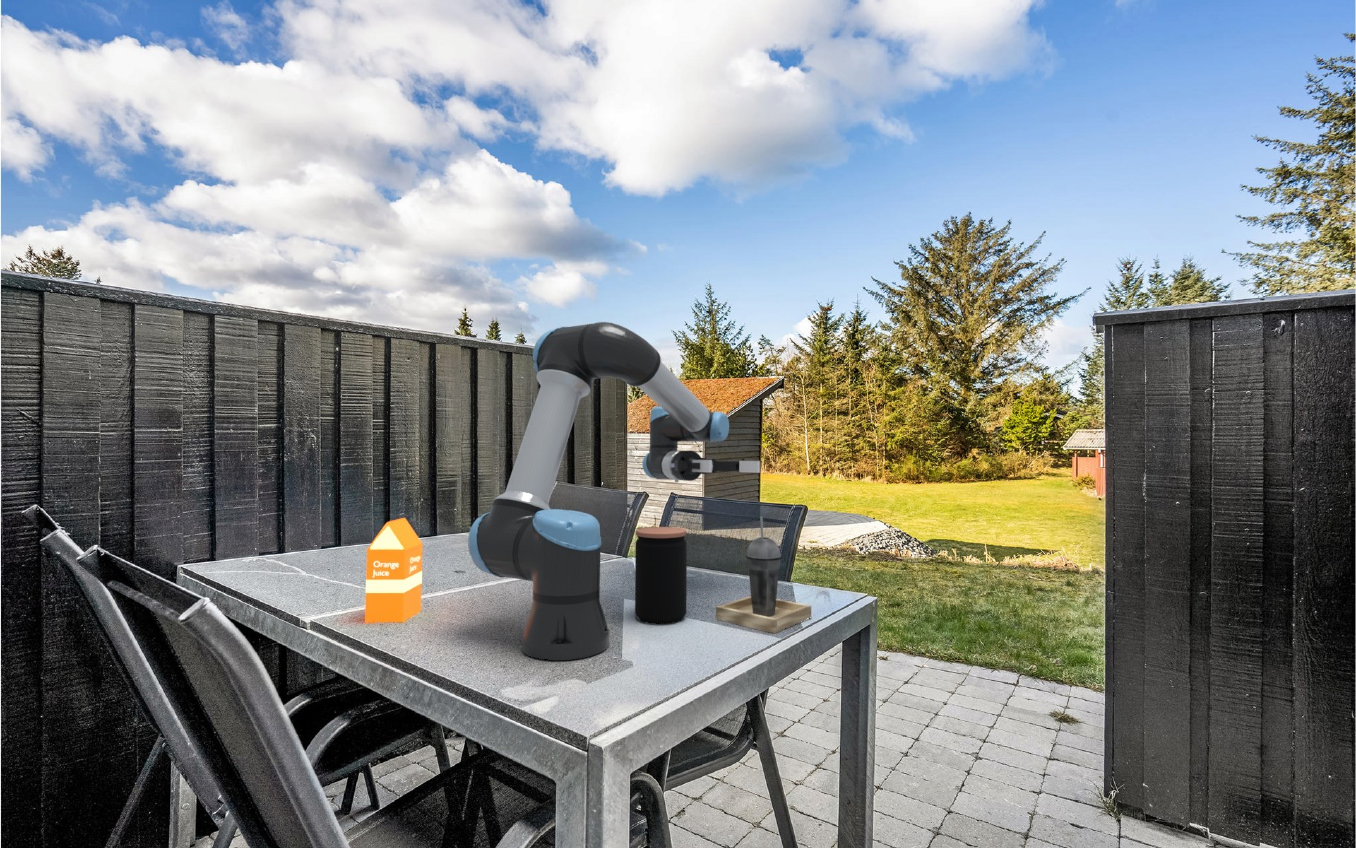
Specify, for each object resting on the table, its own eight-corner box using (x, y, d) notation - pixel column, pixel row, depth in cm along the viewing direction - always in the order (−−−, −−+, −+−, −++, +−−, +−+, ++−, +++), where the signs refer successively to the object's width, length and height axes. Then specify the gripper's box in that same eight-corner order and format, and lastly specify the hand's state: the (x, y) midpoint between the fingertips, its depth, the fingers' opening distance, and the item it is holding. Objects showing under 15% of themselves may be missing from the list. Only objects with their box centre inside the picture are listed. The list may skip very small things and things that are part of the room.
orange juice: (421, 611, 125) (423, 517, 126) (403, 623, 116) (406, 522, 117) (384, 611, 125) (387, 517, 126) (363, 623, 116) (366, 522, 117)
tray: (716, 619, 119) (716, 606, 120) (755, 605, 130) (755, 594, 130) (774, 633, 110) (774, 620, 110) (811, 618, 120) (811, 605, 121)
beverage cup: (786, 612, 121) (786, 515, 122) (773, 620, 115) (773, 518, 116) (754, 607, 125) (754, 513, 126) (740, 615, 119) (740, 516, 120)
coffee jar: (688, 611, 125) (688, 527, 126) (684, 626, 114) (684, 534, 115) (639, 610, 126) (639, 526, 127) (630, 624, 116) (631, 533, 116)
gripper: (722, 480, 154) (776, 483, 137) (639, 480, 141) (688, 483, 123) (722, 451, 155) (777, 451, 137) (640, 449, 142) (688, 448, 124)
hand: (735, 466), depth 130 cm, fingers open, 13 cm apart
